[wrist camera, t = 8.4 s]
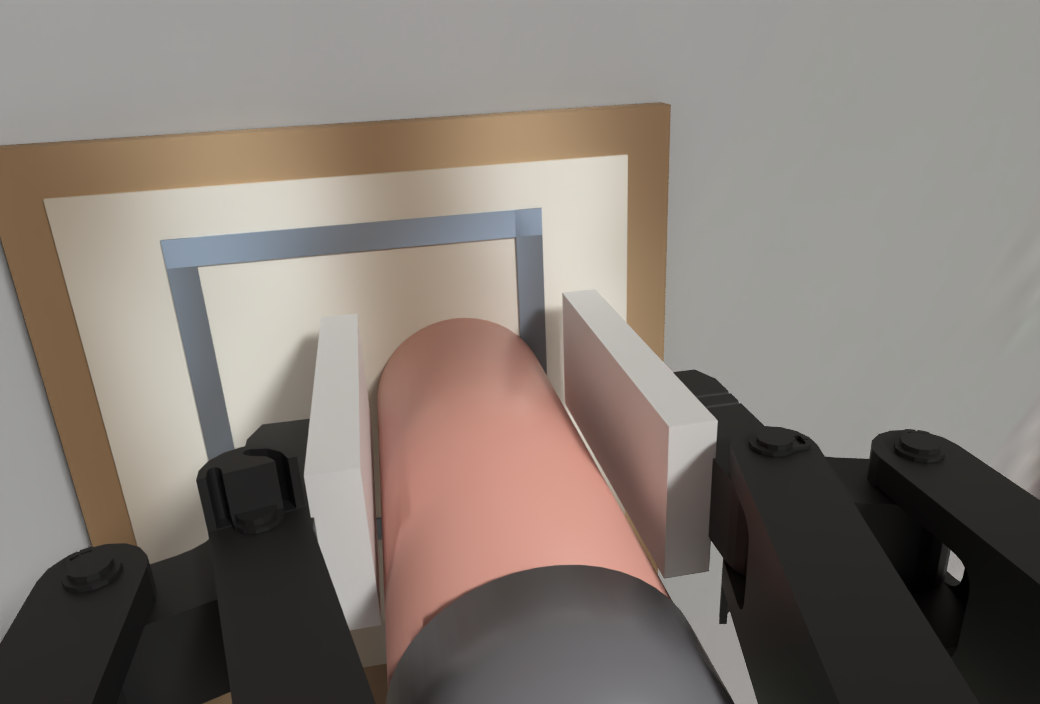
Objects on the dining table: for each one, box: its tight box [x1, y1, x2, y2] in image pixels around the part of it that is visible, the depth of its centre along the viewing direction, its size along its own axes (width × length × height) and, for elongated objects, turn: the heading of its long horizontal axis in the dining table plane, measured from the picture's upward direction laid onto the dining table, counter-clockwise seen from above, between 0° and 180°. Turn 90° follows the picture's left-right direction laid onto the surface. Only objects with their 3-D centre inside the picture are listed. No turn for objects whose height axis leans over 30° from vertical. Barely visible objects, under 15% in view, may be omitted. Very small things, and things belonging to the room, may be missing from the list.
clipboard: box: [0, 102, 671, 704], centre depth 20 cm, size 14×20×3 cm
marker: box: [377, 318, 734, 704], centre depth 13 cm, size 4×4×12 cm
